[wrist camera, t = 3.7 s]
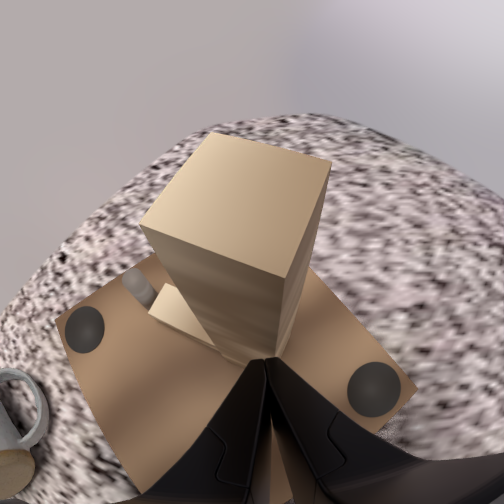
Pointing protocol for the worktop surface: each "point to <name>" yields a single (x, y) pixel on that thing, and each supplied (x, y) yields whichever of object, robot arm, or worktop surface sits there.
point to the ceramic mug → (19, 440)
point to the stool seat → (210, 371)
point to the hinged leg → (237, 244)
